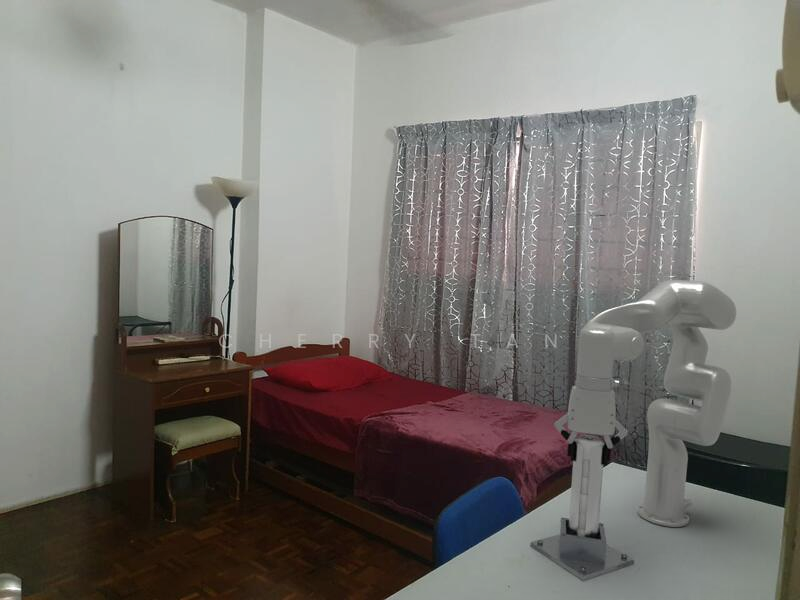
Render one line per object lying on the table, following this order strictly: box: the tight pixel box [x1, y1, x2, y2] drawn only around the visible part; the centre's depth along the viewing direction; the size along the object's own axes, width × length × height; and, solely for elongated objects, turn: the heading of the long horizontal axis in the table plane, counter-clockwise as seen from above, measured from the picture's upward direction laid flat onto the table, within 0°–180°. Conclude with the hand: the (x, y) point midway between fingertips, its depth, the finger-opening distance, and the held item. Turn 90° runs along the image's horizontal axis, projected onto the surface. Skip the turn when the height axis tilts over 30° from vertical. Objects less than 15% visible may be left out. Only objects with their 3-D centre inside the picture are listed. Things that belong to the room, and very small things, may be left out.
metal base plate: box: [530, 517, 635, 582], centre depth 133 cm, size 16×16×6 cm
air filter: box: [568, 434, 605, 539], centre depth 132 cm, size 6×6×25 cm
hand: (588, 460), depth 132 cm, fingers closed on air filter, 6 cm apart
